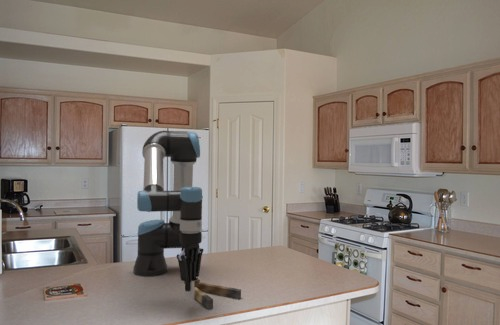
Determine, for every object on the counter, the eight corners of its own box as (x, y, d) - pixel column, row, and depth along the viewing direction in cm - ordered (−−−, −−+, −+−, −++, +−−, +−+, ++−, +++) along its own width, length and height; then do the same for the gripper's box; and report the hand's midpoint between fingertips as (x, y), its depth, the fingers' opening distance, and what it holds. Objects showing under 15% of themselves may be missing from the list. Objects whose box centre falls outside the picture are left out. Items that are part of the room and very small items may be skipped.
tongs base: (184, 290, 157) (184, 280, 157) (189, 287, 161) (189, 277, 161) (236, 300, 147) (236, 290, 147) (240, 297, 150) (241, 287, 150)
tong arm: (183, 290, 157) (184, 280, 157) (188, 289, 158) (188, 280, 158) (207, 308, 138) (207, 298, 138) (212, 307, 139) (213, 297, 139)
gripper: (188, 235, 131) (187, 307, 131) (210, 229, 142) (209, 295, 142) (170, 233, 134) (169, 303, 134) (192, 227, 146) (191, 292, 146)
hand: (189, 299), depth 138 cm, fingers closed
